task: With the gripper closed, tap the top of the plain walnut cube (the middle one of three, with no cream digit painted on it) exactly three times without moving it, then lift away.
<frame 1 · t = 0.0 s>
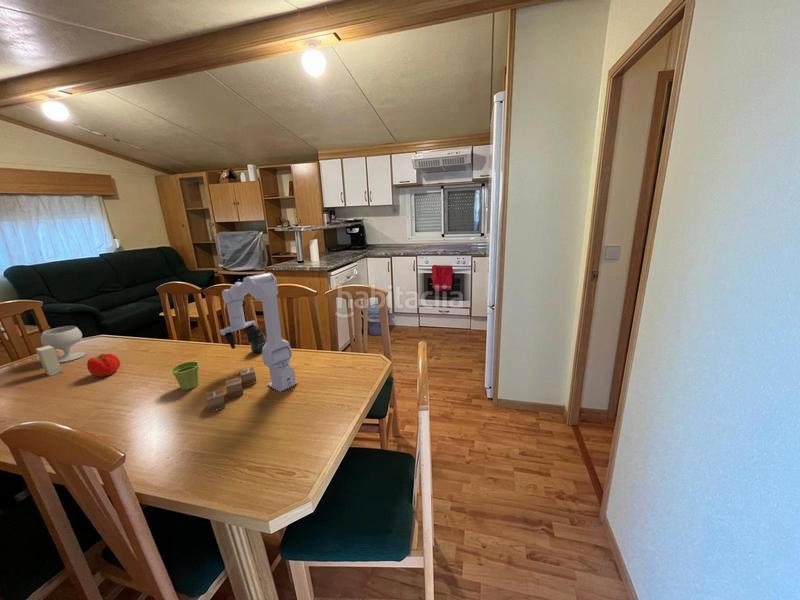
hand: (242, 345, 140), 10 cm above the table, tool pointing down, fingers open, 7 cm apart
supplement bottle: (259, 351, 158), on the table
block one: (217, 406, 113), on the table
chalice: (69, 358, 159), on the table
skincare box: (54, 373, 144), on the table
plant pot: (189, 386, 128), on the table
block seven: (249, 382, 129), on the table
tomato: (107, 374, 141), on the table
plain block: (235, 393, 121), on the table
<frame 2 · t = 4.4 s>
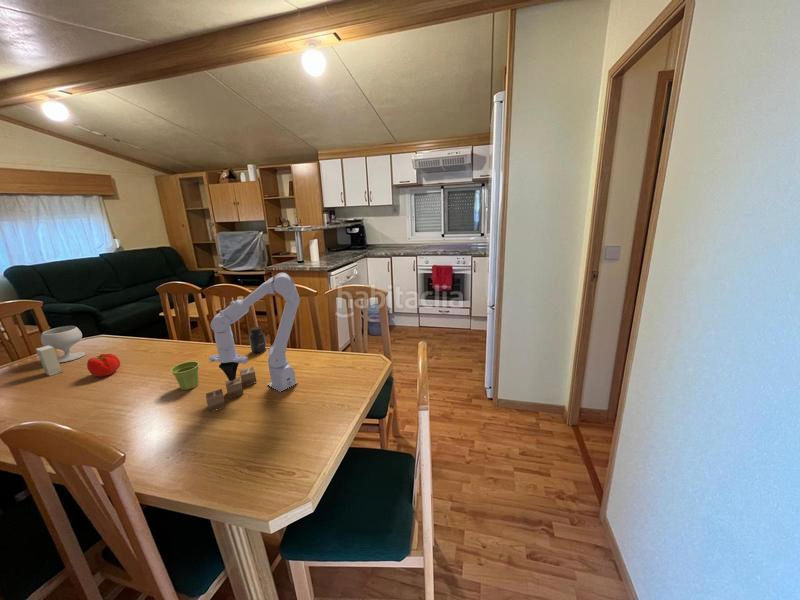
hand: (232, 379, 120), 6 cm above the table, tool pointing down, fingers closed
nothing on the table moved.
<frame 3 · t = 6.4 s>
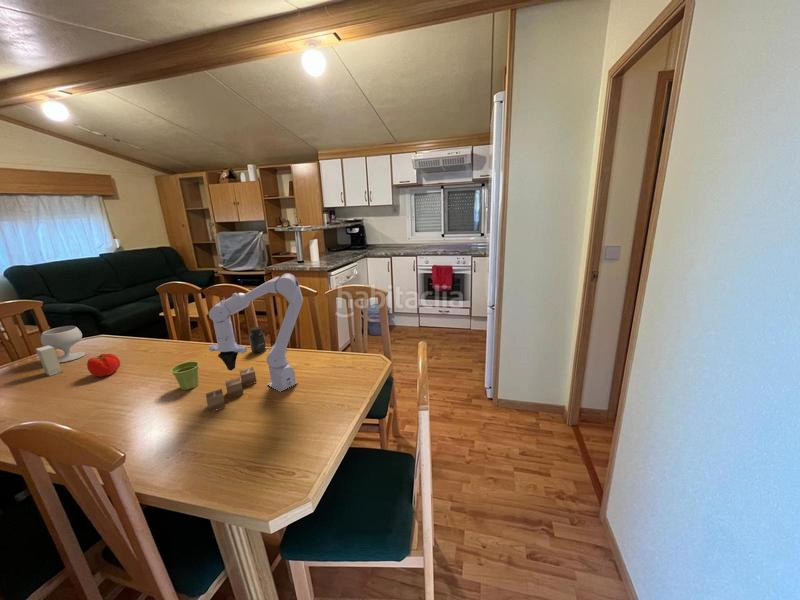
hand: (231, 369, 121), 9 cm above the table, tool pointing down, fingers closed
nothing on the table moved.
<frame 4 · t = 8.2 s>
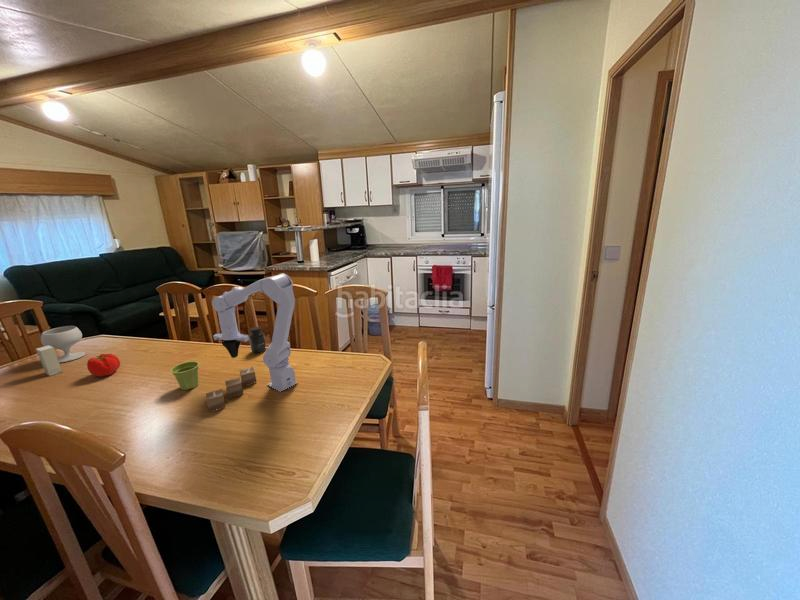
hand: (234, 356, 128), 10 cm above the table, tool pointing down, fingers closed
nothing on the table moved.
at the end: plain block moved 0.1 cm from its start; plain block tilted 0°; block seven moved 0.1 cm from its start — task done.
